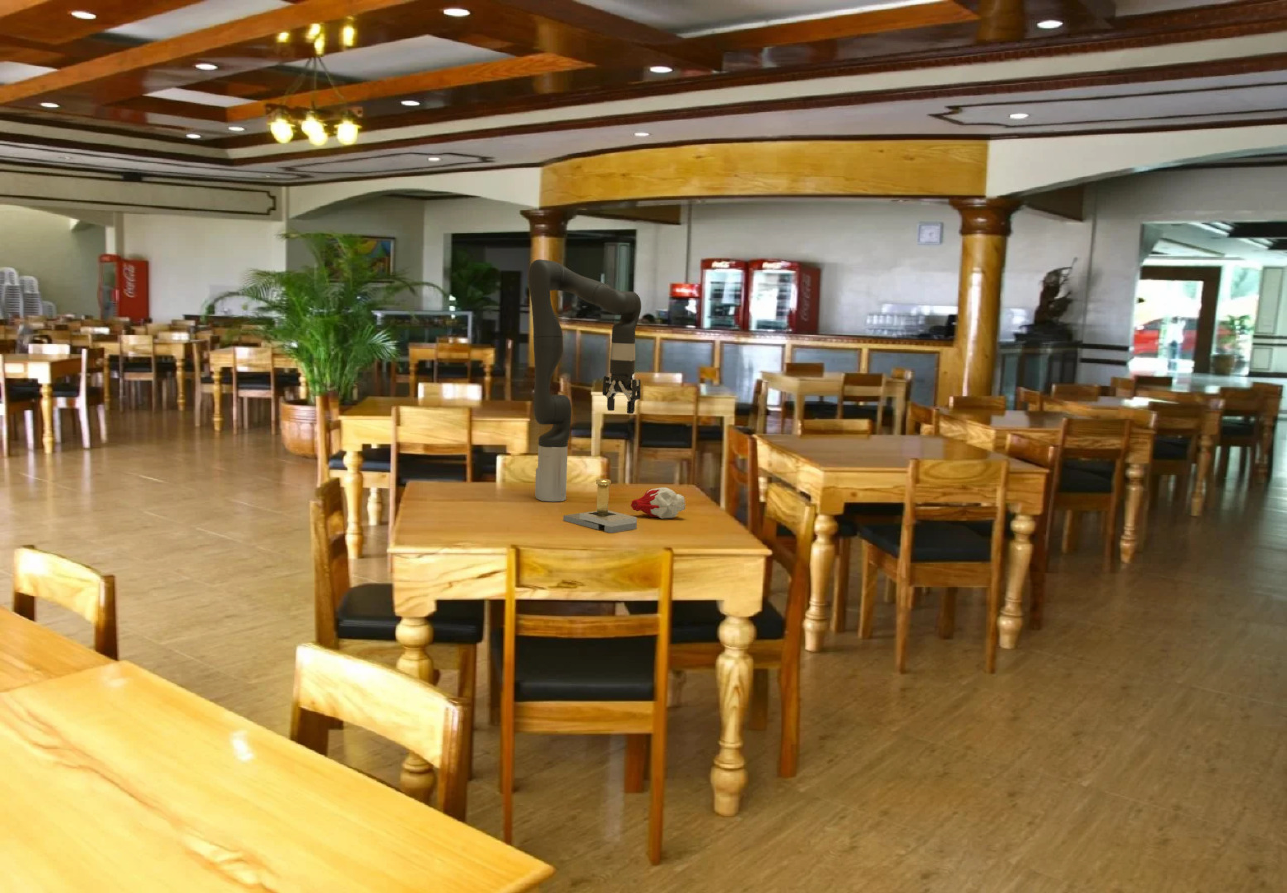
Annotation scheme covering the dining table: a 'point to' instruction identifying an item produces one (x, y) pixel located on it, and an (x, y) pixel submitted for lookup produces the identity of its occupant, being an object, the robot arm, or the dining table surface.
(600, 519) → the grey slotted base plate
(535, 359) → the robot arm
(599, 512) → the pin
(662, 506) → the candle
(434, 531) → the dining table surface
